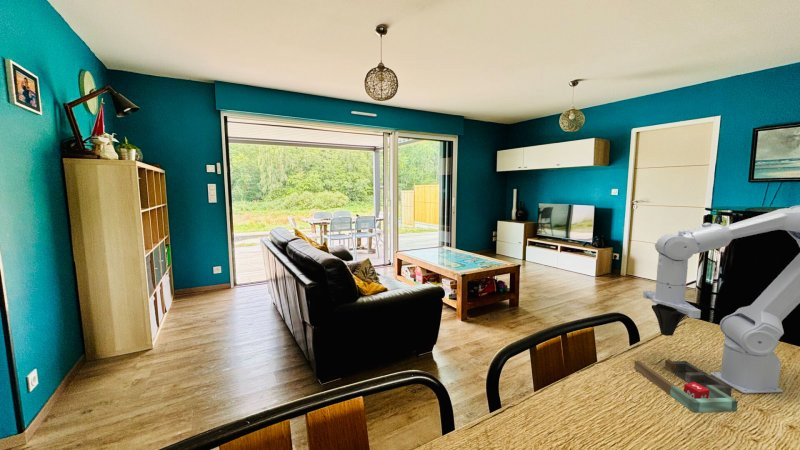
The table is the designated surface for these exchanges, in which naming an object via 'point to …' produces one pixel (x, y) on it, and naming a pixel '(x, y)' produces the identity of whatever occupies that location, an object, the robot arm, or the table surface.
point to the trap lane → (690, 373)
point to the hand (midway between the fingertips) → (666, 334)
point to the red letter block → (696, 390)
